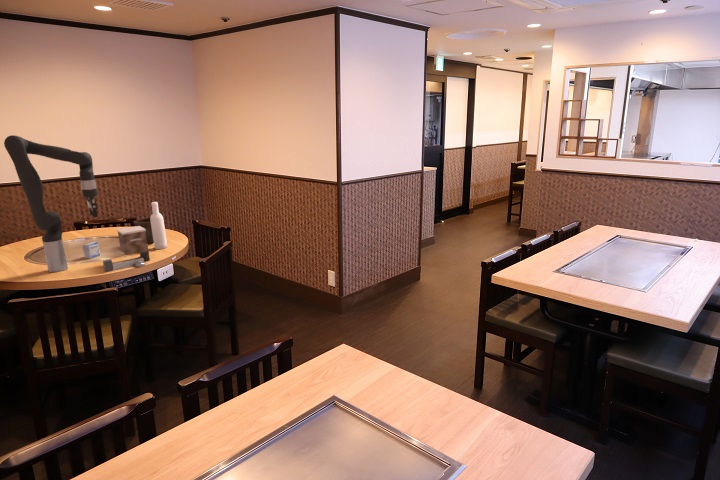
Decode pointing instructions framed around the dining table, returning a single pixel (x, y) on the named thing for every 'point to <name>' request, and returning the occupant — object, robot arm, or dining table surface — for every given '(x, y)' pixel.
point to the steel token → (139, 264)
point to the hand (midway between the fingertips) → (94, 216)
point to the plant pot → (146, 225)
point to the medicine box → (91, 250)
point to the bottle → (158, 228)
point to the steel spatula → (119, 264)
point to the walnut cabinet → (134, 241)
